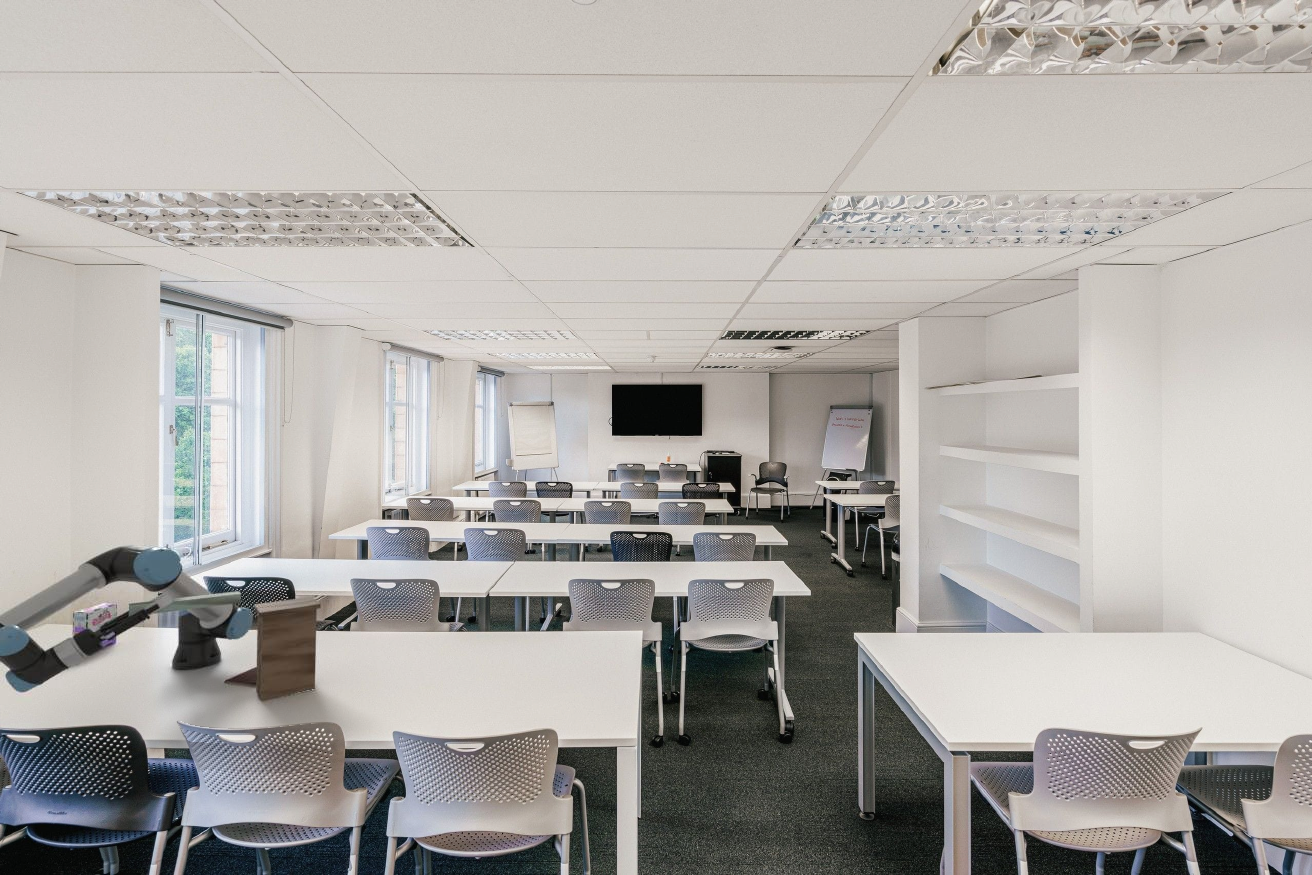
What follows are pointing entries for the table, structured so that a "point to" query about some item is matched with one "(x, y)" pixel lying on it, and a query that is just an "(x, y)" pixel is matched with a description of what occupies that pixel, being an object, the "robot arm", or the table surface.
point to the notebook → (244, 678)
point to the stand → (286, 647)
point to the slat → (191, 602)
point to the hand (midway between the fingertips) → (169, 596)
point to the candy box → (94, 619)
